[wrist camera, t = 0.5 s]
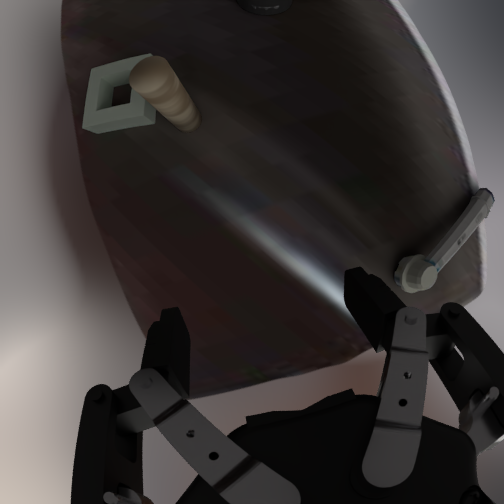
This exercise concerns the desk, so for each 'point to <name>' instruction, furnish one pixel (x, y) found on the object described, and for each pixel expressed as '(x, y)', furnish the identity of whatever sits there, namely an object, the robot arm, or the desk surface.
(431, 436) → the robot arm
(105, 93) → the socket
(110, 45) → the desk surface
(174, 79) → the peg
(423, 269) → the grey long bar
